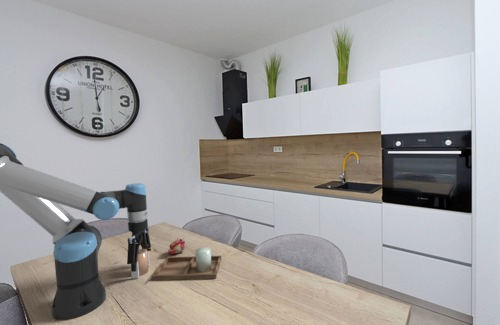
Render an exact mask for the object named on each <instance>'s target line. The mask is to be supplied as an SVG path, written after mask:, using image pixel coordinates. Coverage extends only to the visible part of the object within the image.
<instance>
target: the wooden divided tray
mask: <svg viewBox="0 0 500 325" xmlns="http://www.w3.org/2000/svg"><path fill="white" fill-rule="evenodd" d="M221 262H222V255H211V266H212V268H211V270H210V271H208V272H198V271H197V270H196V255H195V256H194V255H193V256H169V257H166V258H165V259H164V260H163V262H162V263H161V264H160V265H159V266H158V268H157V269H156V271H155V272H154V273H153V274H152V276H151V281H152V282H153V281H188V280H192V281H193V280H195V281H196V280H216V279H217V277H218V273H219V269H220V266H221Z"/></svg>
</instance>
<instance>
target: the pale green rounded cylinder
mask: <svg viewBox="0 0 500 325" xmlns="http://www.w3.org/2000/svg"><path fill="white" fill-rule="evenodd" d="M195 256H196V270H197V271H198V272H208V271H210V270H211V268H212V266H211V256H212V249H211V248H210V247H208V246H205V247H204V246H202V247H199V248H197V249H195Z"/></svg>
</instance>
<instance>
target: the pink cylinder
mask: <svg viewBox="0 0 500 325" xmlns="http://www.w3.org/2000/svg"><path fill="white" fill-rule="evenodd" d="M137 262H138V267H139V277H140V276H145V275H146V274H148V273H149V266H148V255H147V250H146V249H142V248H139V251H138V258H137Z"/></svg>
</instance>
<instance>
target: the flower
mask: <svg viewBox="0 0 500 325" xmlns="http://www.w3.org/2000/svg"><path fill="white" fill-rule="evenodd" d="M185 242H186V241H185V239H184V238H177V239H176V240H175V241H173V242H172V243H170V244H169V249H168V250H167V252H168V254H171V255H177V254H180V255H183V251H185V250H186V245H185V244H186V243H185ZM168 254H167V255H168Z"/></svg>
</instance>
